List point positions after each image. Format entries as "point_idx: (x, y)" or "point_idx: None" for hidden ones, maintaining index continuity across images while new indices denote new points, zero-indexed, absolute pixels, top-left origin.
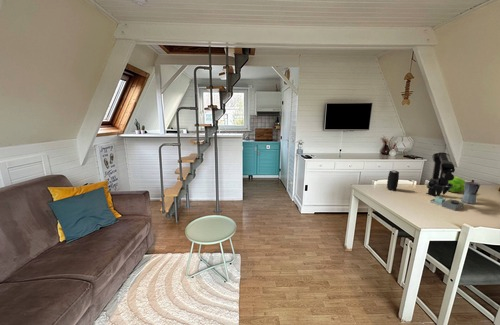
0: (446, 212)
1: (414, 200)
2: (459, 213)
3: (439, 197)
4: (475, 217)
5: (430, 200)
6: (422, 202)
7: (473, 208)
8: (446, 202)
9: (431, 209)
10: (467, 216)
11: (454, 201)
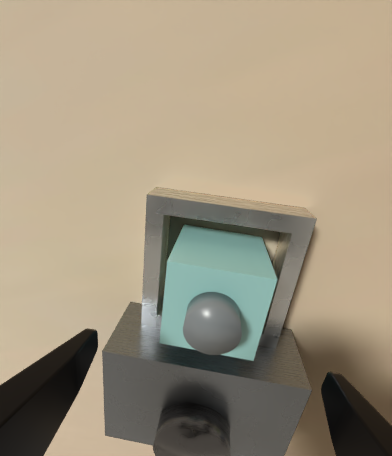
0: (15, 344)
1: (31, 10)
2: (91, 397)
3: (186, 316)
4: (112, 452)
5: (147, 196)
6: (62, 128)
7: (331, 449)
8: (104, 375)
9: None
10: (82, 427)
11: (156, 448)
